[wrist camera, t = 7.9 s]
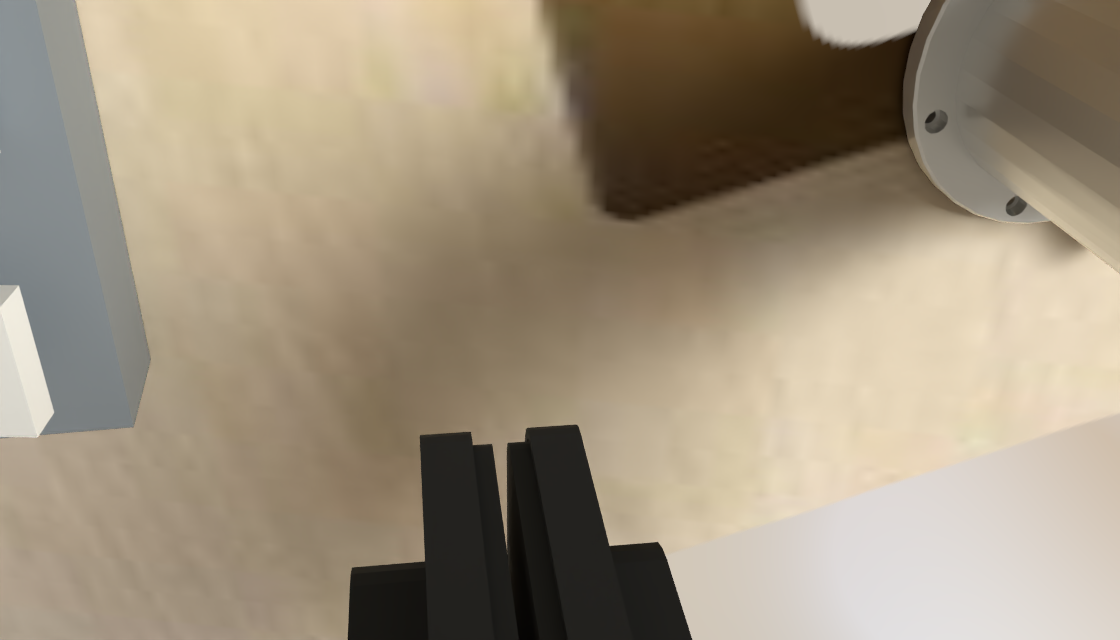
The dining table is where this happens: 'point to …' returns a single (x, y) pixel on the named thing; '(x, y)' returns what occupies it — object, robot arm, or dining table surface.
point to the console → (65, 222)
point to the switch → (20, 371)
